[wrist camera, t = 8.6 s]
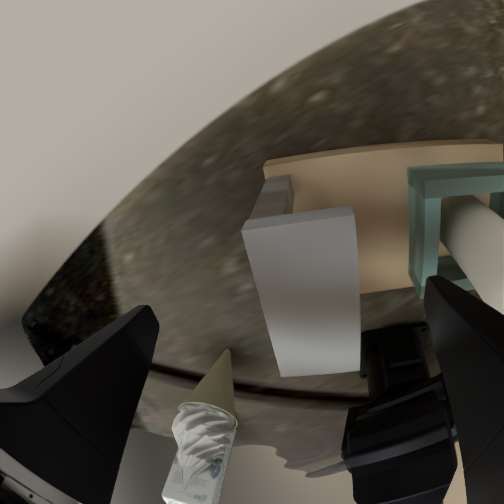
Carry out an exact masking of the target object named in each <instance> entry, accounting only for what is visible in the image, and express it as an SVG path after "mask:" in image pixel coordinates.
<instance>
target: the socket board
mask: <svg viewBox="0 0 504 504" xmlns="http://www.w3.org/2000/svg"><path fill="white" fill-rule="evenodd" d="M263 170H264V175H265V179H266V181H265V183H264V186H263V188H262V190H261V192H260V195H259V197H258V199H257V201H256V204H255V206H254V208H253V210H252V213H251V215H250V217H249V220H246V221H245V224H244V226H243V228H242V230H241V233H242V236H243V240H244V244H245V247H246V251H247V255H248V258H249V262H250V266H251V269H252V273H253V277H254V280H255V284H256V288H257V291H258V295H259V299H260V302H261V306H262V309H263V313H264V317H265V320H266V324H267V328H268V331H269V335H270V338H271V342H272V346H273V349H274V353H275V356H276V360H277V364H278V367H279V371H280V374H281V377H291V376H307V375H320V374H332V373H342V372H351V371H359V370H360V294H363V293H370V292H378V291H385V290H392V289H398V288H405V287H411V286H414V287H415V289H416V292H417V294H418V296H419V298H420V299H424V293H425V284H426V279H427V277H428V276H432V275H441V276H443V277H444V278H446V279H448V280H449V281H451V282H453V283H454V284H456V285H458V286H459V287H461V288H463V289H464V290H466V291H468V290H473V289H475V288H474V286H473V285H472V283H471V282H470V280H469V279H468V277H467V276H466V275H465V273H464V272H463V270H462V269H461V268H460V266H459V265H458V263H457V262H456V261H455V259H454V258H453V257H452V255H451V254H450V253H449V251H448V250H447V249H446V247H445V246H444V245H443V244H442V242H441V241H440V219H441V202H442V200H443V199H444V198H445V197H451V196H461V195H473V196H475V197H476V198H477V199H479V200H480V201H481V202H482V203H484V204H485V205H486V206H488V207H489V208H490V209H491V210H493V211H494V212H495V213H496V214H498V215H499V216H500V217H501V218H502V219H504V163H503V144H501V143H498V142H496V141H493V140H490V139H449V140H428V141H412V142H399V143H388V144H377V145H368V146H359V147H350V148H342V149H335V150H327V151H320V152H314V153H307V154H301V155H295V156H289V157H283V158H277V159H271V160H267V161H266V162H265V164H264V166H263Z"/></svg>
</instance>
